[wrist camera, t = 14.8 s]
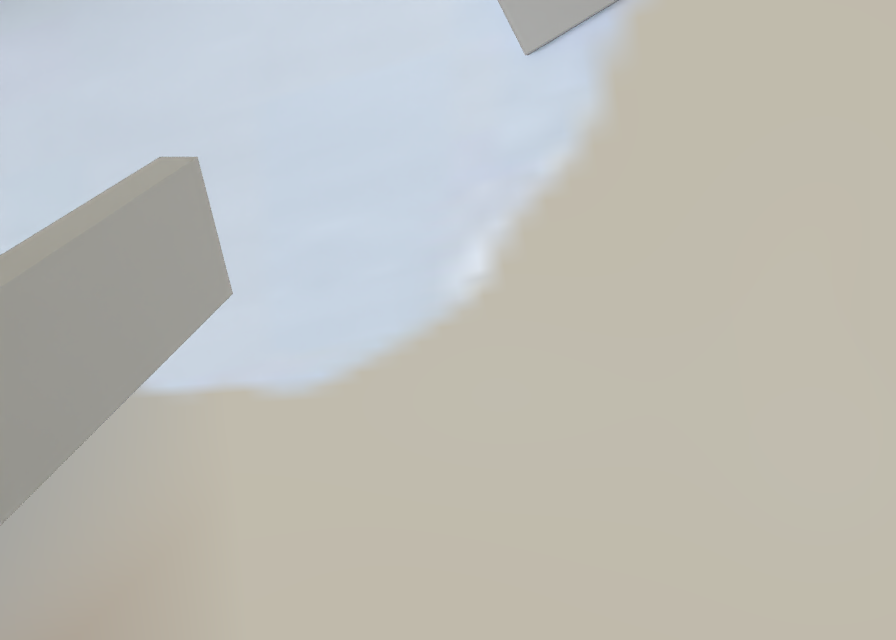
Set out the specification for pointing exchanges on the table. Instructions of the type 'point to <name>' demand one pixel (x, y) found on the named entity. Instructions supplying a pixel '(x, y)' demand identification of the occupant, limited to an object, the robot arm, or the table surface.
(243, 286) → the table surface
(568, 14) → the mat
